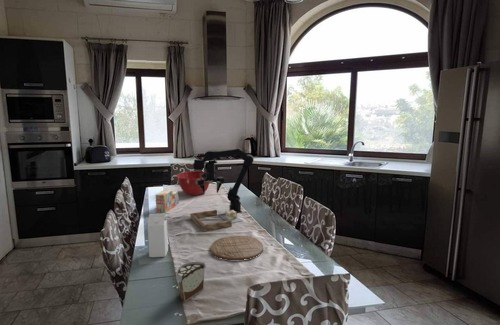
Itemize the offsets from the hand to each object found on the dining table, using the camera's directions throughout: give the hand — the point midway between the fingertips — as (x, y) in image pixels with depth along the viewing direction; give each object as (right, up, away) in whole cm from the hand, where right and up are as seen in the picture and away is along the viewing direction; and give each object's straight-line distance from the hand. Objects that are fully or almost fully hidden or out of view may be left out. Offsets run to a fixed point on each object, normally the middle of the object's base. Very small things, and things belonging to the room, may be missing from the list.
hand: (210, 193), depth 203 cm
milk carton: (-16, -22, -60) cm, 66 cm away
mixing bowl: (-19, -5, +49) cm, 53 cm away
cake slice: (+3, -27, -91) cm, 95 cm away
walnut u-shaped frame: (+2, -15, -18) cm, 24 cm away
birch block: (+14, -14, -12) cm, 23 cm away
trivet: (+19, -21, -55) cm, 62 cm away
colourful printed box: (-30, -11, +10) cm, 34 cm away
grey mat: (+14, -14, -12) cm, 23 cm away
